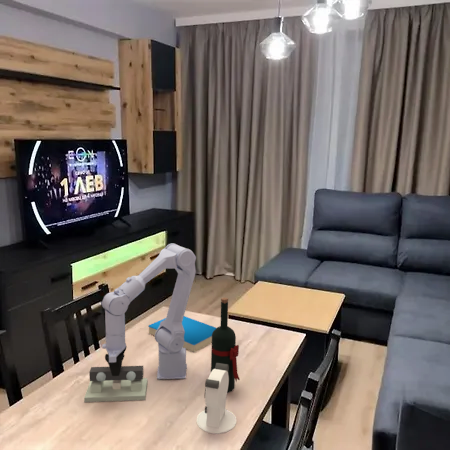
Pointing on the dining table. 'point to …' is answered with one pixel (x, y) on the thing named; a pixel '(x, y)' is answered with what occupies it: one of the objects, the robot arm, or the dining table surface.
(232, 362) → the wine bottle
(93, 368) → the bar
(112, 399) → the stand
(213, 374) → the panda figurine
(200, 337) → the book
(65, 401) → the dining table surface
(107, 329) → the robot arm
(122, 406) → the dining table surface
